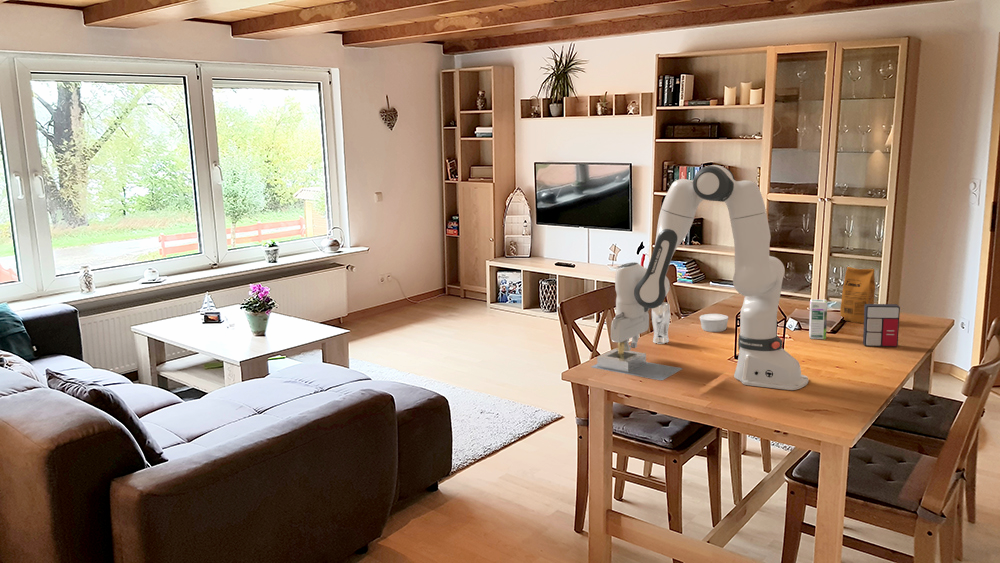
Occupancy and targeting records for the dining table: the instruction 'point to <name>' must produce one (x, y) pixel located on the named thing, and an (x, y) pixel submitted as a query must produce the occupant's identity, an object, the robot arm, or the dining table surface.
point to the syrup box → (818, 319)
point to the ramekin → (714, 322)
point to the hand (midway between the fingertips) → (630, 349)
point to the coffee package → (857, 293)
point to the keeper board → (650, 371)
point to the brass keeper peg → (621, 350)
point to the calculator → (881, 325)
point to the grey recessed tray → (621, 360)
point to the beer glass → (661, 323)
